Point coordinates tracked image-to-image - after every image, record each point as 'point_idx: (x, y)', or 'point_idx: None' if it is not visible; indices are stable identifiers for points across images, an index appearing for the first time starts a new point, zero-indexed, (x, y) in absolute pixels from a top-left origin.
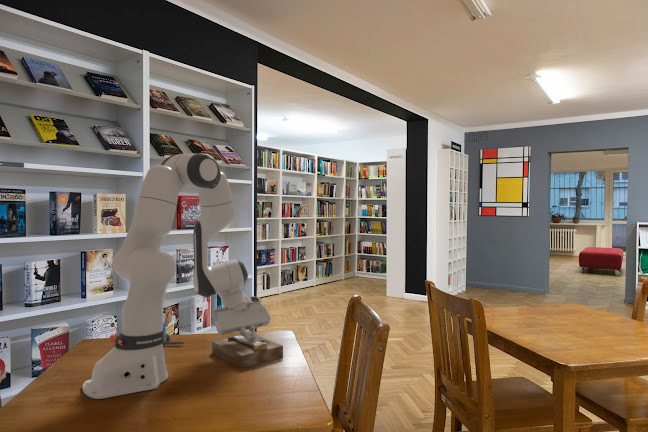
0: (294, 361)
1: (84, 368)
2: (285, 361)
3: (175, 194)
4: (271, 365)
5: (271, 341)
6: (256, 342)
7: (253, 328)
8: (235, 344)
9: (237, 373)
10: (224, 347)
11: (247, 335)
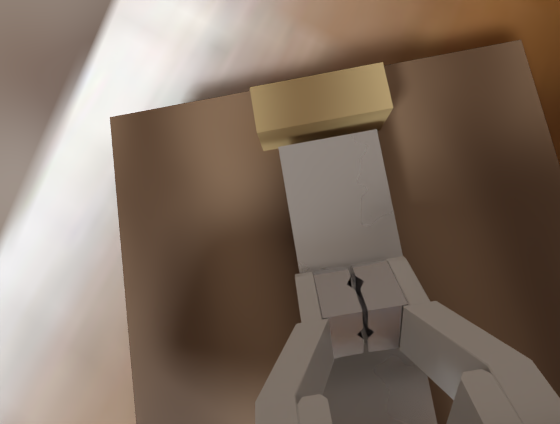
0: (134, 54)
1: None
2: (179, 79)
3: None
4: (284, 57)
5: (130, 282)
6: (327, 184)
7: (297, 386)
8: None
9: (520, 30)
10: None
11: (420, 285)
